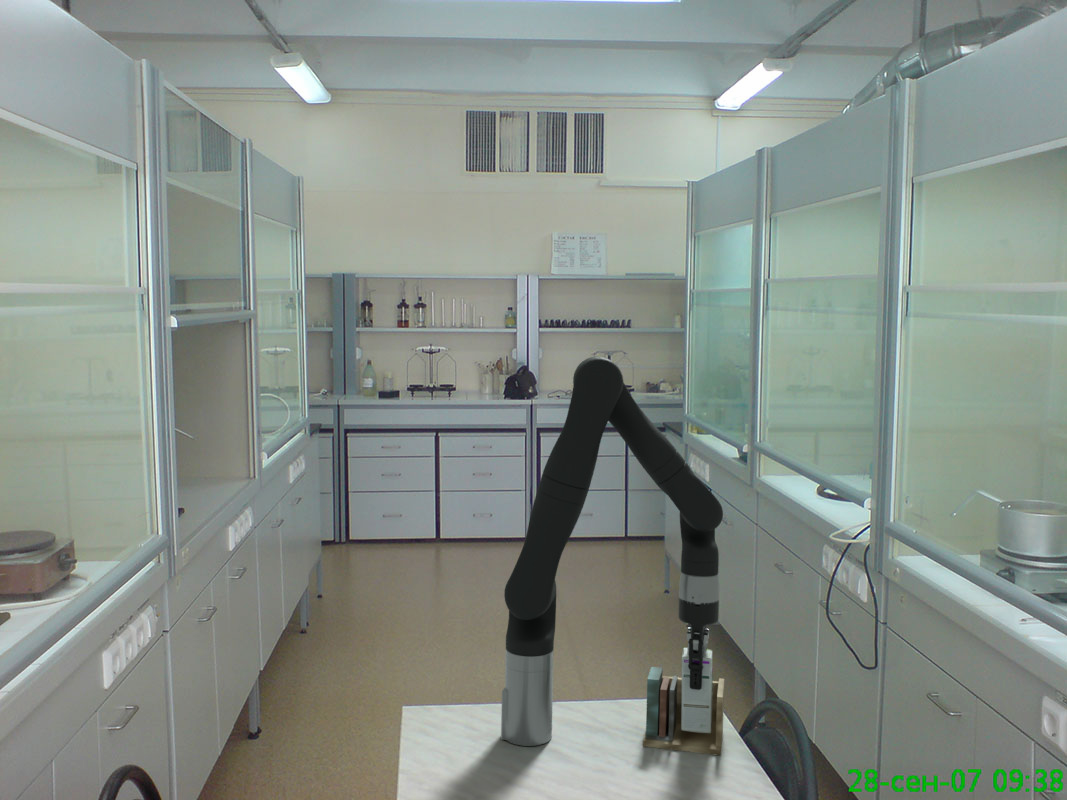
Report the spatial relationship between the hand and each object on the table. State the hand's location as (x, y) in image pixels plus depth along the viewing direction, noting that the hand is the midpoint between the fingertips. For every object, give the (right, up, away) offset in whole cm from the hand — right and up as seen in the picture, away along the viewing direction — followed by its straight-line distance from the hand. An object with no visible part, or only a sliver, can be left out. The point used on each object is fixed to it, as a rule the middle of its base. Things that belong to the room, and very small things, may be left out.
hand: (696, 682), depth 174 cm
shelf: (-2, -12, +2) cm, 12 cm away
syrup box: (0, -9, 0) cm, 9 cm away
